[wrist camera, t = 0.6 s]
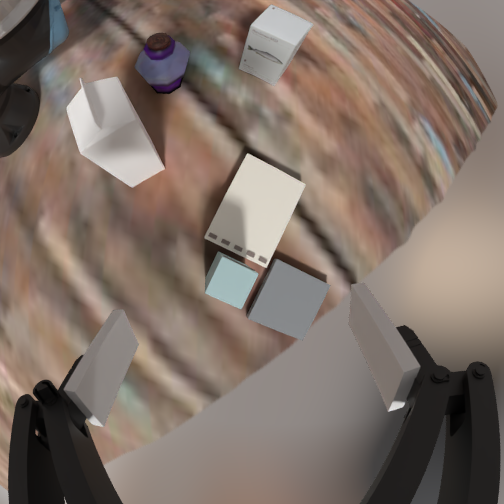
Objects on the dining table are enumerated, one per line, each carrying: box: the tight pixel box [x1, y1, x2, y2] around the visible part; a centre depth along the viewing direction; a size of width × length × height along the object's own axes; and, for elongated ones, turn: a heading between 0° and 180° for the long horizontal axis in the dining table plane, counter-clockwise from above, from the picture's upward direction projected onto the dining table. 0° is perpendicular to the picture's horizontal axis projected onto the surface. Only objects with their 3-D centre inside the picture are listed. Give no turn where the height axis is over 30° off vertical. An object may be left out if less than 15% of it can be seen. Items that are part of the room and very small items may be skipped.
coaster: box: [247, 258, 330, 340], centre depth 42 cm, size 10×10×2 cm
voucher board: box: [204, 153, 306, 268], centre depth 40 cm, size 14×10×2 cm
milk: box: [67, 77, 165, 187], centre depth 27 cm, size 6×6×22 cm
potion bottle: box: [135, 33, 190, 94], centre depth 31 cm, size 9×9×12 cm
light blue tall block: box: [205, 251, 258, 309], centre depth 35 cm, size 5×4×11 cm
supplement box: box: [239, 5, 313, 86], centre depth 34 cm, size 7×7×13 cm
